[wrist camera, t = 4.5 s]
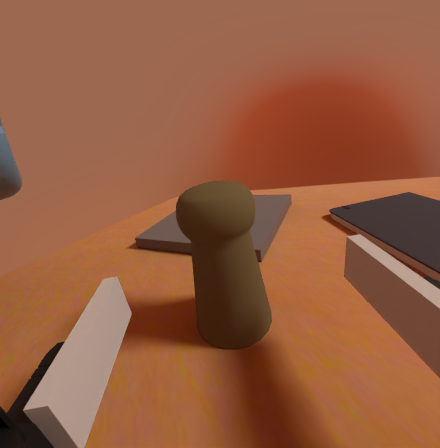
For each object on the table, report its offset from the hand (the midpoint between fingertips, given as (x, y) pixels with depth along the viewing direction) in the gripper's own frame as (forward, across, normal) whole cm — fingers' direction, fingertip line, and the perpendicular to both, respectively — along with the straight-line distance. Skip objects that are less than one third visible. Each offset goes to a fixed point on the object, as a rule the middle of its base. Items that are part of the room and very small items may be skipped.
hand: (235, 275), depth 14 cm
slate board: (+23, 0, -6) cm, 23 cm away
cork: (+3, 0, -7) cm, 7 cm away
